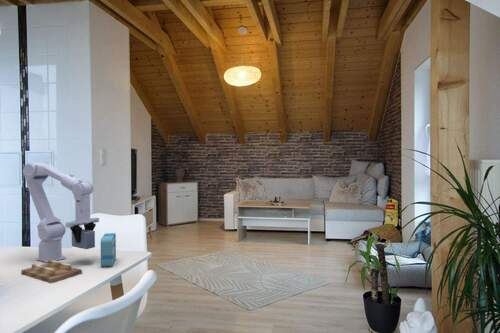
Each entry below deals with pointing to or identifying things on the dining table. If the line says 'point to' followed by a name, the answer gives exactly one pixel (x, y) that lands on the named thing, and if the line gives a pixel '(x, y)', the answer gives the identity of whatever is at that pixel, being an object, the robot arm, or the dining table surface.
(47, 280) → the shelf board
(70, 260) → the dining table surface
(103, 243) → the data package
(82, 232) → the slate blue book
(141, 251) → the dining table surface
